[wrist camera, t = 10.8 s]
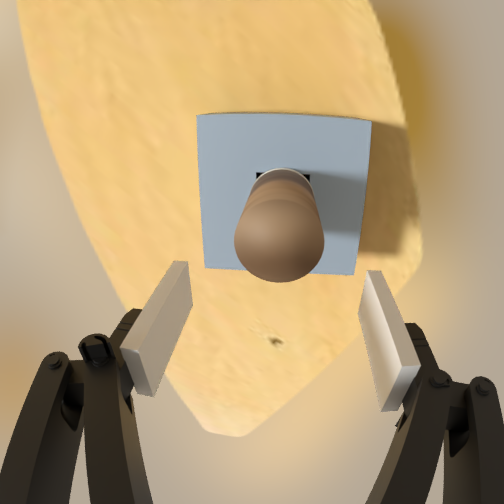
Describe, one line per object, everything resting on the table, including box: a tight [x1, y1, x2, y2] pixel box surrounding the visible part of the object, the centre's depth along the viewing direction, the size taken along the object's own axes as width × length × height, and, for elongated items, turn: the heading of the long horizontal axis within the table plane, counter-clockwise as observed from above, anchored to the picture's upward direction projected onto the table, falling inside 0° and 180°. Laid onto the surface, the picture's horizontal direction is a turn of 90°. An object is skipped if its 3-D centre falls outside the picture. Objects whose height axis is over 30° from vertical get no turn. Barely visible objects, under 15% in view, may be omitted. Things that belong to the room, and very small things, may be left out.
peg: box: [234, 168, 325, 282], centre depth 27 cm, size 6×6×15 cm
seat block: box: [197, 112, 372, 275], centre depth 32 cm, size 16×16×6 cm
